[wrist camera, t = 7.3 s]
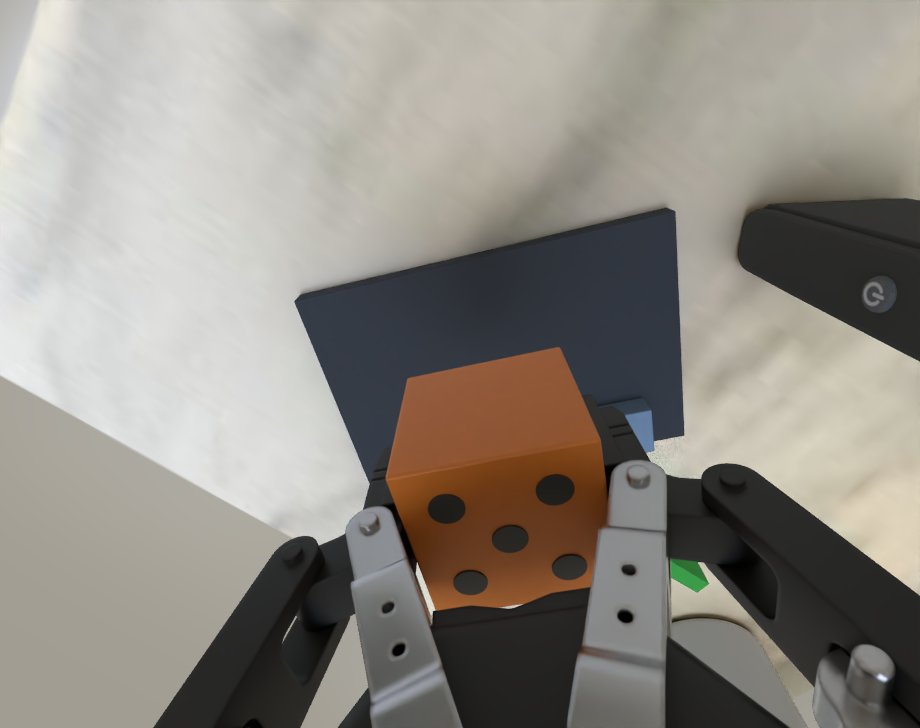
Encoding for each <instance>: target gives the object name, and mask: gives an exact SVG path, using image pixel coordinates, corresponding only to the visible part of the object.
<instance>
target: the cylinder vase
mask: <svg viewBox="0 0 920 728" xmlns="http://www.w3.org/2000/svg"><path fill="white" fill-rule="evenodd" d="M672 639H673V640H675V641H676V642H677V643H679V644H680V645H681V646H683V647H684V648H685V649H687V650H688V651H689V652H691V653H692V654H693V655H695V656H696V657H697V658H699V659H700V660H701V661H703V662H704V663H705V664H707V665H708V666H709V667H711V668H712V669H713V670H715V671H716V672H717V673H719V674H720V675H721V676H722V677H724V678H725V679H726V680H728V681H729V682H730V683H732V684H733V685H734V686H736V687H737V688H738V689H740V690H741V691H742V692H744V693H745V694H746V695H748V696H749V697H750V698H752V699H753V700H754V701H756V702H757V703H758V704H760V705H761V706H762V707H764V708H765V709H766V710H768V711H769V712H770V713H771V714H773V715H774V716H775V717H777V718H778V719H779V720H781V721H782V722H783V723H785V724H786V725H787V726H789V727H790V728H808V727H807V725H806V723H805V721H804V720H803V718H802V716H801V714H800V713H799V711H798V709H797V707H796V706H795V704H794V702H793V700H792V699H791V697H790V695H789V693H788V692H787V690H786V688H785V686H784V685H783V683H782V681H781V679H780V677H779V676H778V674H777V672H776V670H775V669H774V667H773V665H772V663H771V662H770V660H769V658H768V656H767V655H766V653H765V651H764V649H763V648H762V646H761V644H760V643H759V641H758V640H757V639H756V638H755V637H754V636H753V635H752V634H751V633H750V632H749V631H747V630H746V629H744V628H742V627H741V626H738V625H736V624H734V623H731V622H728V621H724V620H718V619H709V618H697V619H687V620H681V621H677V622H673V623H672Z"/></svg>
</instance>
